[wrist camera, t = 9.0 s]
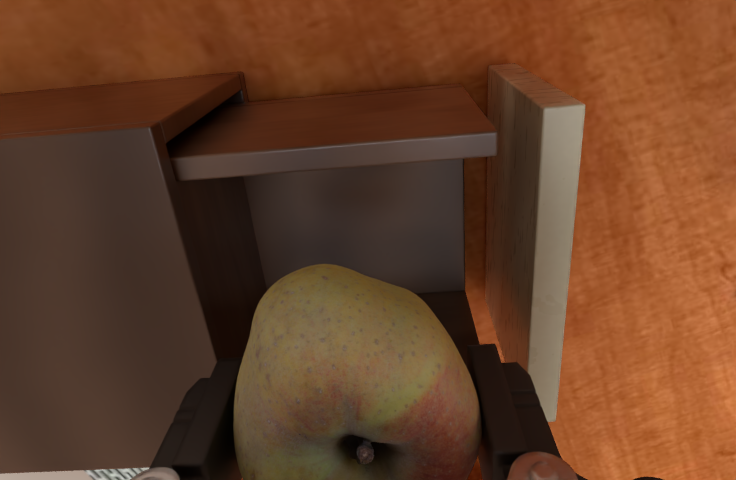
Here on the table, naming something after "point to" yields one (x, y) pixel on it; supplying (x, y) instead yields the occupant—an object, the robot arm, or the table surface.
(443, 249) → the drawer
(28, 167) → the cabinet
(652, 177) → the table surface
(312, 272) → the apple
